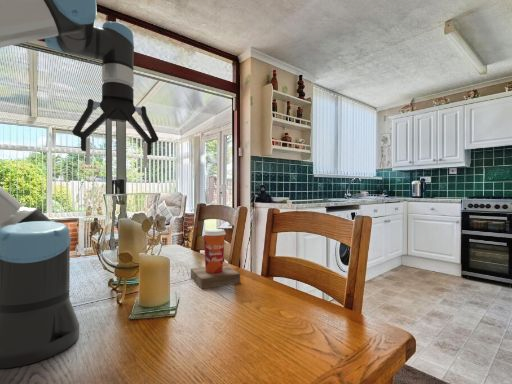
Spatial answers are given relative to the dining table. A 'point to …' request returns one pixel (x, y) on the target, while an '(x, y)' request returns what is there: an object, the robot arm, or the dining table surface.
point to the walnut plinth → (215, 277)
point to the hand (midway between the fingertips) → (117, 165)
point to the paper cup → (214, 250)
